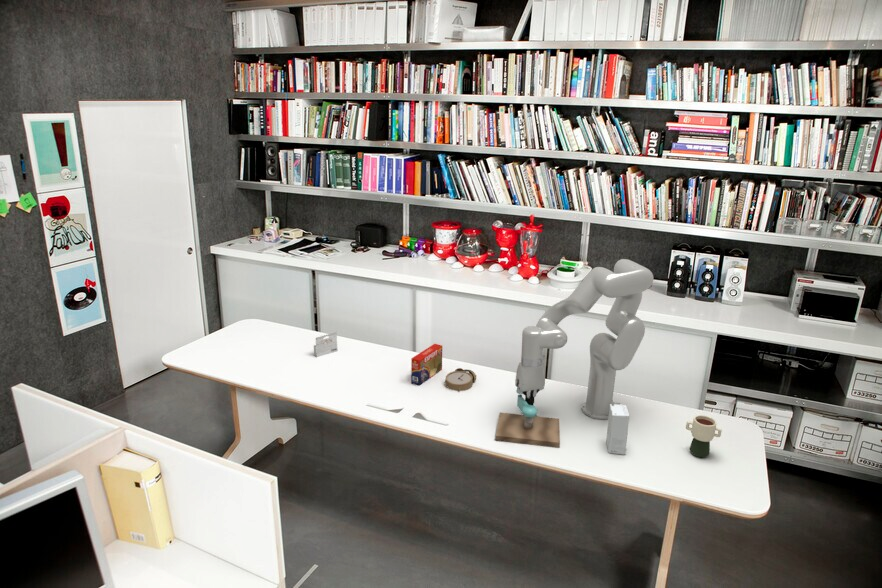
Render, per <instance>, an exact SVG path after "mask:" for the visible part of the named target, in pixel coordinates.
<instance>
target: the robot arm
mask: <svg viewBox="0 0 882 588" xmlns="http://www.w3.org/2000/svg"><path fill="white" fill-rule="evenodd" d="M653 283H654V274H653V272H652V271H651V270H650V269H649V268H647V267H645V266H643V265H641V264H639V263H637V262H635V261H632V260H631V259H627V258H621V259H619V260H618V261H617V262H615V264H614V267H613V271H612V270H610V269H608V268H607V267H606V268H605V267H602V266H596V267H594V268H592V269H591V270H590V271H589V272H588V273H587V275H586V276H585V277H584V278H583V280H582V281H580V283H579V284H578V285H577V287H576V288H575V289H574V290H573V291H572V292H571V294H570V295H569V296H568V297H566V298H564V299H561V300H560V301H559V302H556V303H555V304H553V305H552V306H550V307H549V308H548V309H547V310H545V312H544V313H542V314H543V315H542V316H541V317H540V318H539V319H538V321H537V323H536V325H529V326H526V327H524V328H523V330H522V334H521V335H522V337H521V355H520V356H521V357H520V362H518V365H517V369H516V372H515V373H516V374H515V379H514V380H515V381H514V382H515V387H516V390H515V391H516V393H517V395H520V394H521V395H523V396H524V400H525V401H526V402H527V403H528V405H533V406H534V404H535V398H536V397H537V394H538V393H539V392H540V391H543V390H544V389H545V386H546V369H545V364H544V361H543V360H546V355H545V354H544V349H552V350H557V349H561V348H563V347H564V346H565V345H566V344H567V342H568V335H567V333H566V332H565V330H564V329H562V328H561V327H560V326H559V324H560V323H561V321H563V320H564V319H565V318H567V317H569V316H570V315H578V314H586V313H587V314H588V312H589V311H590V310H591V309H592V308H593V307H594V306H595V304H596V303H597V302H598V301H599V299H600V298H601V297H602V296H604V297H606V298H608V299H609V298H610V299H615V300H614V302H613V304H612V306H611V309H610V310H609V311H608V314H607V316H606V319H605V326H606V328H607V329H608V330H609V331H610V332H611V333H612V334H614V335H615V336H616V337H614V336H613V335H612V334H610V333H606V332H600V333H597V334H595V335H593V337H592V338H591V341H590V344H589V357H590V359H589V361H590V363H589V375H588V383H587V384H588V385H587V389H586V390H587V393H586V400H585V401H584V402H583V403H582V404H581V409H580V410H581V411H582V413H583V414H584V415H585V416H588V417H589V418H593V419H597V420H608V418H609V407H610V404H616V405H621V403H620V402H614V401H613V398H614V389H615V381H616V376H617V371H622V370H624V369H626V368H627V367H628V366H629V365H630V363H631V362H632V361H633V359H634V357H635V354H636V353H637V351H638V348H640V345H641V344H642V343H641V342H642V340H643V339H644V337H645V333H646V327H645V326H646V325H645V323H644V322H643V320H642V319H641V318H639V317H638V316H636V314H637V312H638V310H639V307H640V305H641V302H642V299H643V292H645V291H647V290H648V289H650V287H652V285H653ZM543 354H544V355H543Z"/></svg>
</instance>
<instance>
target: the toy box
mask: <svg viewBox="0 0 882 588" xmlns="http://www.w3.org/2000/svg"><path fill="white" fill-rule="evenodd" d="M410 360H411V363H410V364H411V368H410V369H411V373H410V374H411V375H410V376H411V377H410V379H411V381H410V384H412V385H414V386H418V387H421V385H424V384H425V382H427V381H428V380H430V379H431V378H433V377H434V376H435V375H437V374H438V373H439V372H441V371H443V345H441V344H439V343H438V344H437V343H433V344H432V345H430V346H429V347H427V348H426V349H424V350H422V351H420V352H419V353H418V354H416V355H415V356H413V357H412V358H411V359H410Z"/></svg>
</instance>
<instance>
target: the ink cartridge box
mask: <svg viewBox="0 0 882 588" xmlns="http://www.w3.org/2000/svg"><path fill="white" fill-rule="evenodd" d="M337 336H338V335H337V331H335V332H332V333H329V334H325V335H320V336H318V337H315V344H314V345H313V354H314V357H316V358H318V357H322V356H325V355H329V354H334V353H336V352H338V351H339V350H338V341H337V340H338V339H337V338H338V337H337ZM326 337H328V338H326Z"/></svg>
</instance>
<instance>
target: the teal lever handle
mask: <svg viewBox="0 0 882 588" xmlns="http://www.w3.org/2000/svg"><path fill="white" fill-rule="evenodd" d="M516 400H517V401H516V402H517V403H516V406H517V408H518V409H519V411H520V412H521V413H522V414H521V415H524V416H525V417H529V418H532V417H535V416H537V411H538V408H537V407H536V406H534V404H533V405H528V403H527V402H526V401H525V397H523V394H517V399H516Z"/></svg>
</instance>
